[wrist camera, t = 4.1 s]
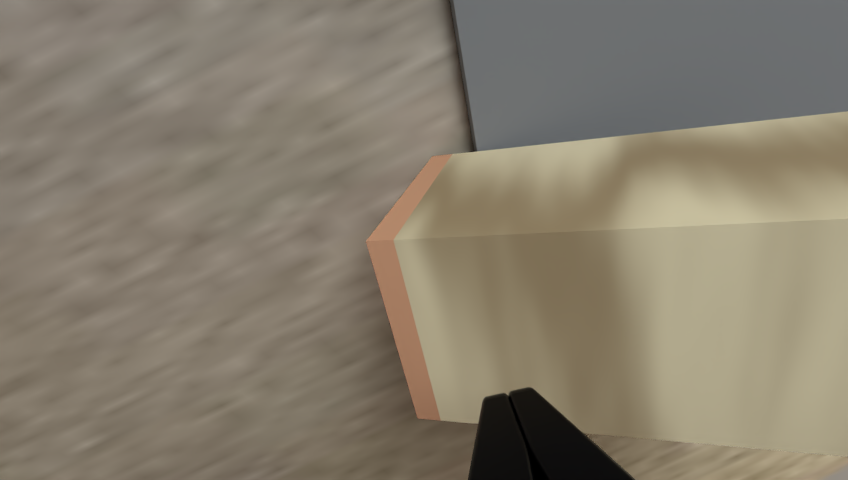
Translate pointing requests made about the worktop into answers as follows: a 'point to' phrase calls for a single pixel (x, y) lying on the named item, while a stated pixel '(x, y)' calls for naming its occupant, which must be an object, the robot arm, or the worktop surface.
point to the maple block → (634, 283)
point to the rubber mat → (644, 65)
